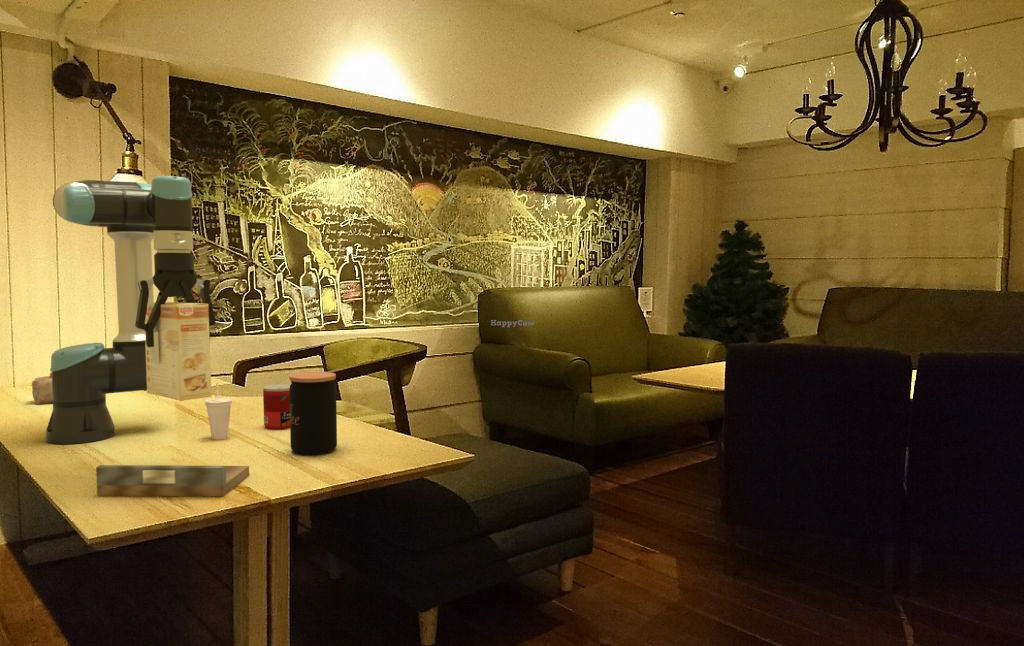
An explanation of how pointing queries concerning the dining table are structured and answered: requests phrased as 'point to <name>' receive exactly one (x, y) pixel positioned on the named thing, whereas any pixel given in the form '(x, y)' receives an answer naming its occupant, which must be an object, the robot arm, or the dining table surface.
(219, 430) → the smoothie
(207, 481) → the shelf board
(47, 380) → the food item
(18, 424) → the dining table surface
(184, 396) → the coffeecake box
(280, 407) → the canned food
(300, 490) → the dining table surface
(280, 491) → the dining table surface
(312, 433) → the coffee jar
